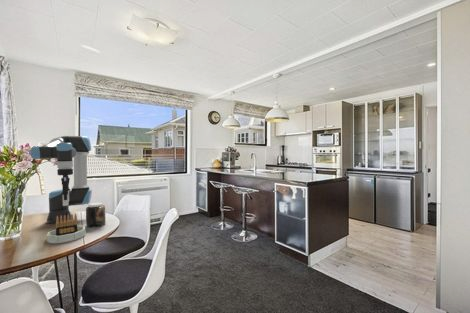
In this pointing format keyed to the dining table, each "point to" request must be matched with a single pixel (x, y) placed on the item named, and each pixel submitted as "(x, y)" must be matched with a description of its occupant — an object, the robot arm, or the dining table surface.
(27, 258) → the dining table surface
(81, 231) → the octagonal tray
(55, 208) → the robot arm
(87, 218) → the jar
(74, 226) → the ammunition clip
